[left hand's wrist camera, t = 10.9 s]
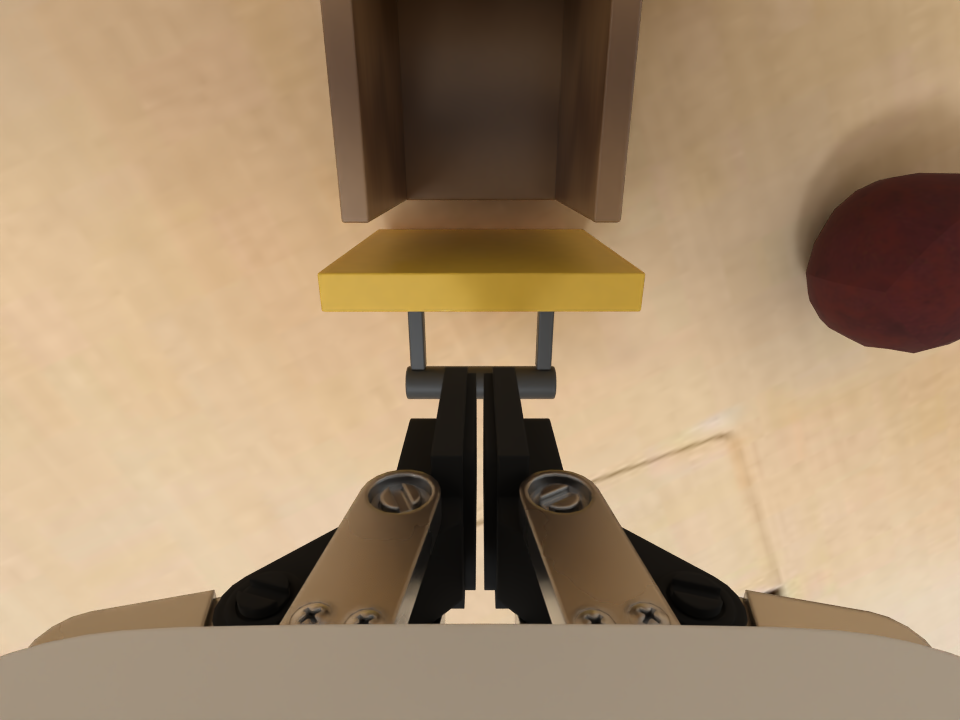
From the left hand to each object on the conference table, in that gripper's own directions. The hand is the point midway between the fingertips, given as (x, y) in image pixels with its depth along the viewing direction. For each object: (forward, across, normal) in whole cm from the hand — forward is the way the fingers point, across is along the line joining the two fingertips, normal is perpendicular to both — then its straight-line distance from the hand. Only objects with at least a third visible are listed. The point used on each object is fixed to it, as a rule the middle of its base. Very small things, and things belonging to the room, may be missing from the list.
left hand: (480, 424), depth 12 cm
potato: (+15, +18, +2) cm, 24 cm away
